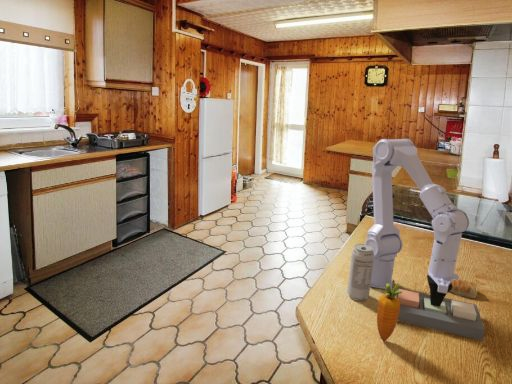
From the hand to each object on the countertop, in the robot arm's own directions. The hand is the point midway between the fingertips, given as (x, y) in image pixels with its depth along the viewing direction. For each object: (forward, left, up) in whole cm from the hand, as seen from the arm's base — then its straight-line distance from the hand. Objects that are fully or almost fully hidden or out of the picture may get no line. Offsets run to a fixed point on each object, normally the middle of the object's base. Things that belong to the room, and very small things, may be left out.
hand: (435, 304), depth 95 cm
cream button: (+6, 0, -2) cm, 7 cm away
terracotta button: (-7, 0, -2) cm, 7 cm away
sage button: (0, 0, -3) cm, 3 cm away
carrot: (-12, -16, -4) cm, 20 cm away
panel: (0, 0, -3) cm, 3 cm away
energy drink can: (-20, +2, -4) cm, 20 cm away
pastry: (+9, +18, -4) cm, 21 cm away
